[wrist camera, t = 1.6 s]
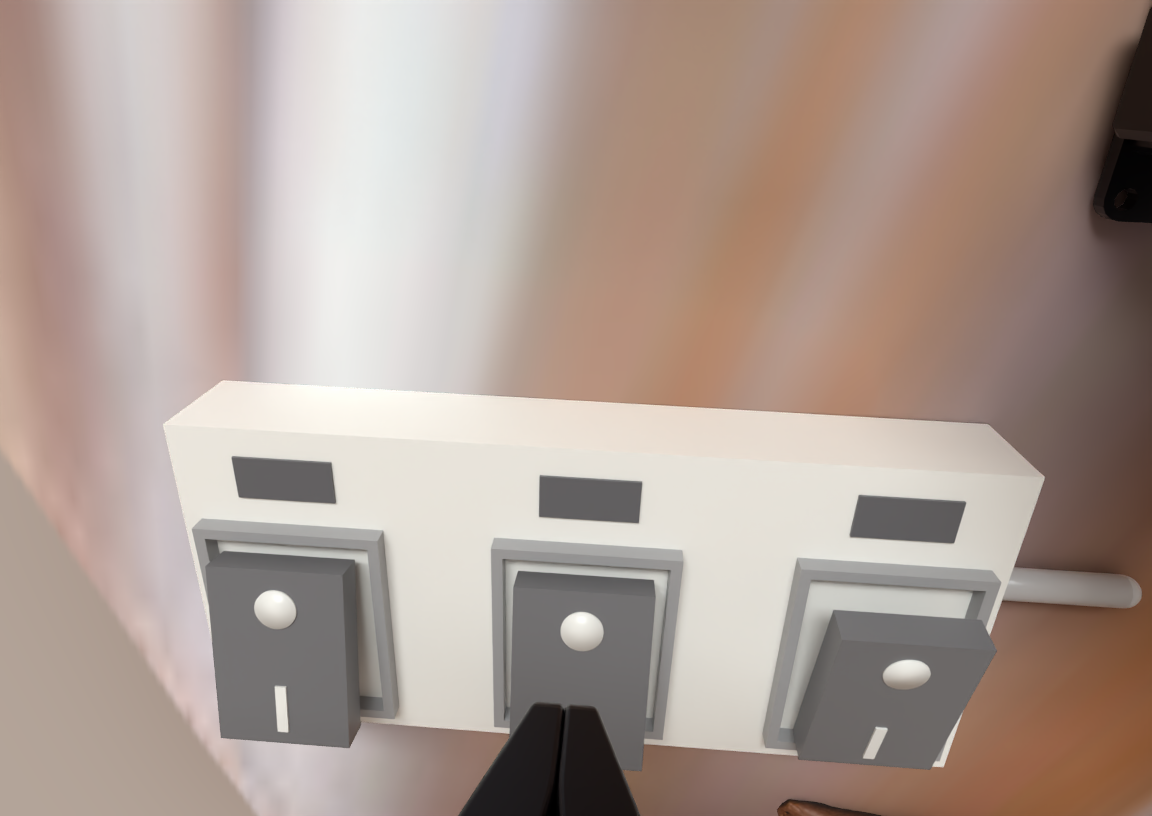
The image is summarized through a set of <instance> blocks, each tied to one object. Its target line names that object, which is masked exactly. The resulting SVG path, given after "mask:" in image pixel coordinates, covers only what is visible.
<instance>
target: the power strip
mask: <svg viewBox="0 0 1152 816" xmlns="http://www.w3.org/2000/svg"><path fill="white" fill-rule="evenodd" d="M163 428H164V432H165V437H166V441H167V445H168V450H169V454H170V459H171V463H172V467H173V472H174V476H175V481H176V485H177V489H178V494H179V498H180V503H181V507H182V511H183V516H184V520H185V525H186V529H187V534H188V538H189V542H190V547H191V551H192V556H193V560H194V564H195V569H196V573H197V578H198V582H199V586H200V591H201V595H202V600H203V604H204V608H205V613H206V617H207V622H208V626H209V631H210V635H211V624H210V613H209V602H208V591H207V581H206V570H205V566H206V565H207V564H208V563H210V562H211V561H212V560H213V559H214V558H216V557H217V556H218V555H219V554H220V553H222V552H223V551H234V552H249V553H264V554H279V555H294V556H308V557H323V558H338V559H353V560H355V578H356V607H357V635H358V664H359V692H360V721H361V722H367V723H380V724H393V725H406V726H419V727H432V728H445V729H458V730H470V731H483V732H496V733H509V734H510V695H511V655H512V616H513V586H514V583H515V579H516V576H517V573H518V571H530V572H545V573H559V574H574V575H589V576H604V577H618V578H633V579H648V580H654V585H655V595H656V600H655V613H654V625H653V637H652V650H651V662H650V674H649V687H648V699H647V712H646V724H645V736H644V744H651V745H664V746H677V747H689V748H702V749H715V750H728V751H741V752H754V753H767V754H780V755H792V756H798V754H797V748H796V743H795V738H794V733H793V727H794V724H795V721H796V718H797V716H798V713H799V710H800V707H801V704H802V701H803V698H804V695H805V692H806V689H807V686H808V683H809V680H810V677H811V674H812V671H813V668H814V666H815V663H816V660H817V657H818V654H819V651H820V648H821V645H822V642H823V639H824V636H825V633H826V630H827V627H828V624H829V621H830V618H831V616H832V613H833V610H845V611H859V612H874V613H888V614H903V615H917V616H932V617H946V618H961V619H975V620H982V621H983V624H984V626H985V628H986V630H987V632H988V634H989V636H990V633H991V630H992V627H993V625H994V622H995V619H996V616H997V613H998V610H999V608H1000V605H1001V602H1002V600H1006V601H1021V602H1036V603H1050V604H1065V605H1080V606H1095V607H1110V608H1130V607H1133V606H1135V605H1137V604H1138V603H1139V602H1140V600H1141V597H1142V590H1141V588H1140V586H1139V584H1138V583H1137V582H1136V581H1135V580H1134V579H1133V578H1131V577H1129V576H1126V575H1122V574H1110V573H1095V572H1080V571H1065V570H1049V569H1034V568H1019V567H1014V565H1015V562H1016V559H1017V556H1018V553H1019V551H1020V548H1021V545H1022V542H1023V539H1024V536H1025V534H1026V531H1027V528H1028V525H1029V522H1030V519H1031V516H1032V514H1033V511H1034V508H1035V505H1036V502H1037V499H1038V497H1039V494H1040V491H1041V488H1042V485H1043V482H1044V479H1045V477H1044V476H1043V475H1042V474H1041V473H1040V472H1039V471H1038V470H1037V469H1036V468H1034V467H1033V466H1032V465H1031V464H1030V463H1029V462H1028V461H1027V460H1026V459H1025V458H1024V457H1023V456H1022V455H1021V454H1020V453H1018V452H1017V451H1016V450H1015V449H1014V448H1013V447H1012V446H1011V445H1010V444H1009V443H1008V442H1007V441H1006V440H1005V439H1004V438H1002V437H1001V436H1000V435H999V434H998V433H997V432H996V431H995V430H994V429H993V428H992V427H991V426H990V425H989V424H977V423H959V422H942V421H924V420H907V419H889V418H872V417H854V416H837V415H819V414H802V413H784V412H767V411H749V410H732V409H715V408H697V407H680V406H662V405H645V404H627V403H610V402H592V401H575V400H557V399H540V398H522V397H505V396H487V395H470V394H452V393H435V392H417V391H400V390H382V389H365V388H347V387H330V386H312V385H295V384H277V383H260V382H242V381H225V380H223V381H221V382H220V383H219V384H217V385H216V386H214V387H213V388H212V389H210V390H209V391H208V392H206V393H205V394H204V395H202V396H201V397H200V398H198V399H197V400H195V401H194V402H193V403H191V404H190V405H189V406H187V407H186V408H185V409H183V410H182V411H180V412H179V413H178V414H176V415H175V416H174V417H172V418H171V419H170V420H168V421H167V422H165V423H164V424H163ZM211 639H212V635H211ZM962 713H963V712H962ZM961 716H962V714H961ZM961 716H960V717H959V719H958V721H957V723H956V725H955V726H954V728H953V730H952V732H951V734H950V735H949V737H948V739H947V741H946V742H945V744H944V746H943V748H942V750H941V751H940V753H939V755H938V757H937V758H936V760H935V762H934V764H933V766H934V767H944V764H945V761H946V758H947V756H948V753H949V750H950V747H951V744H952V741H953V739H954V736H955V733H956V730H957V727H958V724H959V721H960V719H961Z"/></svg>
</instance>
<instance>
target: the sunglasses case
mask: <svg viewBox="0 0 1152 816" xmlns="http://www.w3.org/2000/svg"><path fill="white" fill-rule="evenodd" d="M777 812H778V815H779V816H881V815H876V814H871V813H866V812H859V811H852V810H847V809H840V808H835V807H831V806H828V805H825V804H822V803H817V802H808V801H796V800H787V801H786V802H784V803H782V805H781V806H780V807H779V808H778V809H777Z"/></svg>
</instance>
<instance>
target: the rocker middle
mask: <svg viewBox="0 0 1152 816" xmlns="http://www.w3.org/2000/svg"><path fill="white" fill-rule="evenodd" d="M655 600H656V595H655V585H654V580H648V579H633V578H618V577H604V576H589V575H574V574H559V573H545V572H530V571H518V573H517V576H516V579H515V583H514V586H513V616H512V655H511V695H510V734H509V738H510V736H511V735H512V733H513V731H514V730H515V728H516V727H517V725H518V724H519V722H520V721H521V719H522V718H523V716H524V715H525V713H526V712H527V710H528V709H529V707H530V706H531V705H532V704H533V703H534V702H538V701H539V702H552V703H560V704H562V705H563V706H564V710H565V708H566V706H567V705H569V704H578V705H591V706H595V707H596V708H597V709H598V711H599V713H600V715H601V718H602V720H603V723H604V725H605V728H606V730H607V733H608V736H609V738H610V741H611V743H612V746H613V748H614V751H615V753H616V756H617V758H618V761H619V763H620V766H621V768H622V770H632V771H642V761H643V749H644V736H645V724H646V712H647V699H648V687H649V674H650V662H651V650H652V637H653V625H654V613H655Z"/></svg>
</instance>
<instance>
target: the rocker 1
mask: <svg viewBox="0 0 1152 816" xmlns="http://www.w3.org/2000/svg"><path fill="white" fill-rule="evenodd" d="M205 570H206V581H207V591H208V602H209V613H210V624H211V635H212V646H213V657H214V667H215V678H216V689H217V700H218V711H219V722H220V732H221V738H228V739H241V740H254V741H266V742H279V743H291V744H304V745H317V746H329V747H342V748H350V746H351V744H352V742H353V740H354V738H355V736H356V734H357V732H358V730H359V728H360V726H361V721H360V692H359V664H358V635H357V607H356V578H355V560H353V559H338V558H323V557H308V556H294V555H279V554H264V553H249V552H234V551H223V552H222V553H220V554H219V555H218V556H217V557H216V558H214V559H213V560H212V561H211V562H210V563H208V564H207V565H206V566H205Z"/></svg>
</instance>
